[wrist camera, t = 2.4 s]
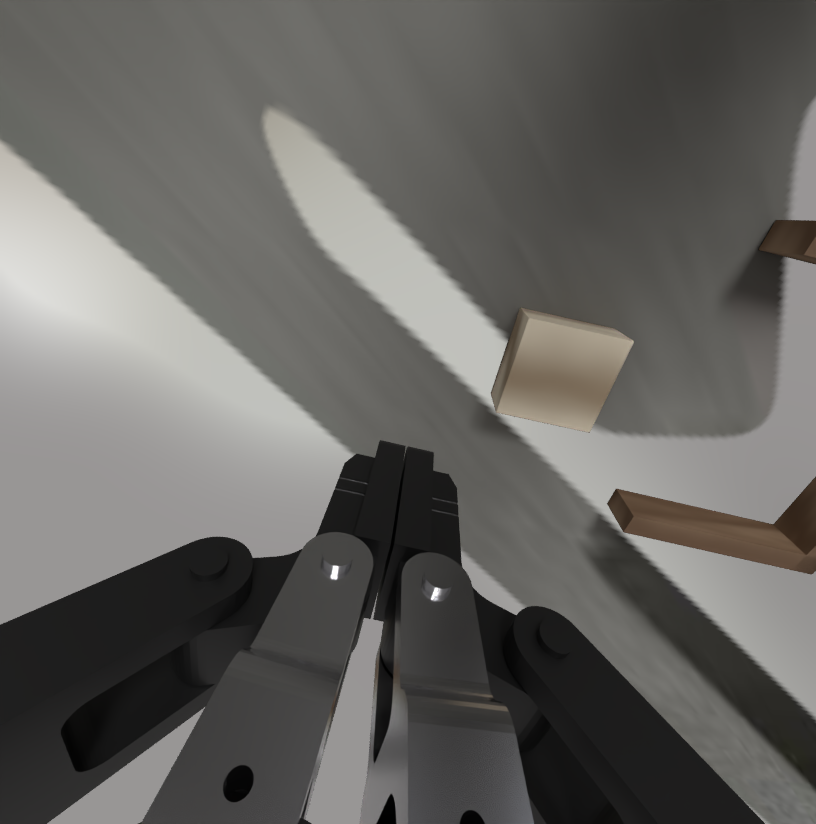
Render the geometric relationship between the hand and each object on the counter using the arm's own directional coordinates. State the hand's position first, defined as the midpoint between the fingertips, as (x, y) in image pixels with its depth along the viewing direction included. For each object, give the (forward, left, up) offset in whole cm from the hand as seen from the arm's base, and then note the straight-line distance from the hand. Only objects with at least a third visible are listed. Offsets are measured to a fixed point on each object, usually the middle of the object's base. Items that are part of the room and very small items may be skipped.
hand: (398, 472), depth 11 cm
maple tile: (0, +9, -16) cm, 18 cm away
